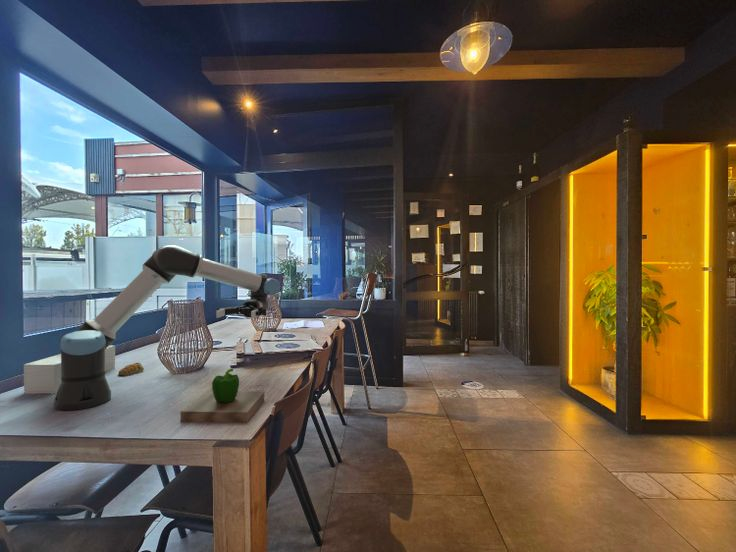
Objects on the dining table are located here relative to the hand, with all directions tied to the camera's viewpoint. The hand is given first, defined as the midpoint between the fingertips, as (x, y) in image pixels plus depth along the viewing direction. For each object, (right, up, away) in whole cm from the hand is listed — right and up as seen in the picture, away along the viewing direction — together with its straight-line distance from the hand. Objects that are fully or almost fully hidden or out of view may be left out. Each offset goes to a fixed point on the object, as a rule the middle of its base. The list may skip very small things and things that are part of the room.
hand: (234, 314), depth 139 cm
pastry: (-51, -27, +16) cm, 60 cm away
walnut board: (+6, -29, -23) cm, 37 cm away
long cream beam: (-67, -27, +5) cm, 72 cm away
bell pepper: (+6, -26, -23) cm, 35 cm away
